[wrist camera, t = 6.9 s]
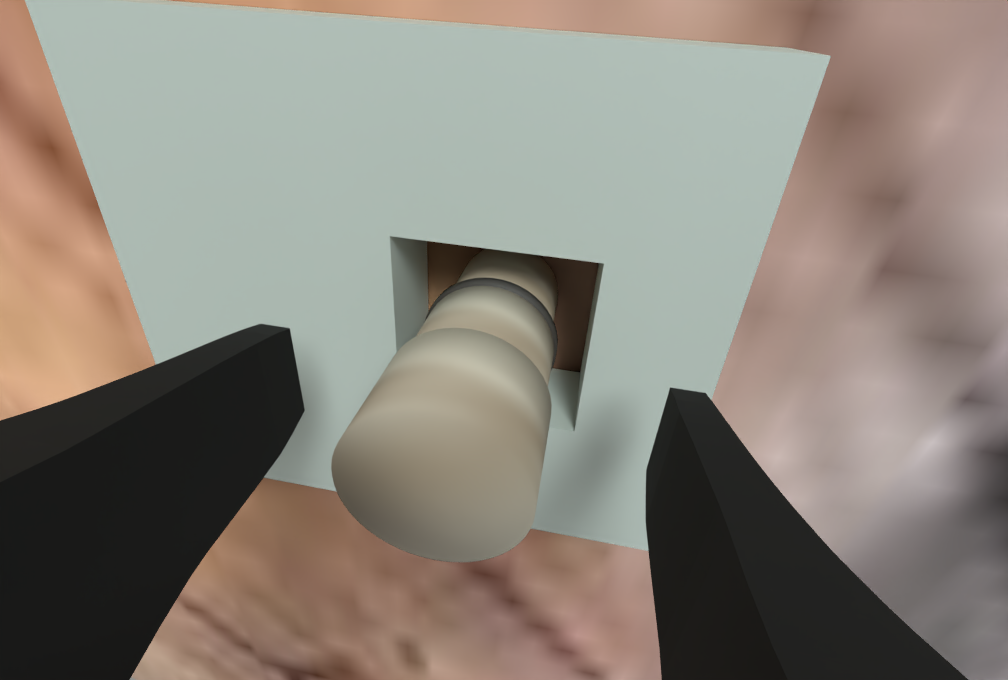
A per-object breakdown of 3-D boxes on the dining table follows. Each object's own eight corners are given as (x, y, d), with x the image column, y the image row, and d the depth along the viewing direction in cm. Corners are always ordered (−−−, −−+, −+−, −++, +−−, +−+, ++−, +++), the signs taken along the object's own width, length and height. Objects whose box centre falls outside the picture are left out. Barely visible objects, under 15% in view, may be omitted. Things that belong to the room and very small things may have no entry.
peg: (589, 321, 14) (570, 545, 8) (485, 357, 15) (402, 574, 9) (537, 213, 13) (470, 385, 7) (428, 261, 14) (290, 443, 8)
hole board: (786, 47, 10) (830, 55, 8) (652, 484, 16) (658, 552, 14) (128, -3, 12) (22, -7, 10) (240, 412, 18) (191, 463, 16)
